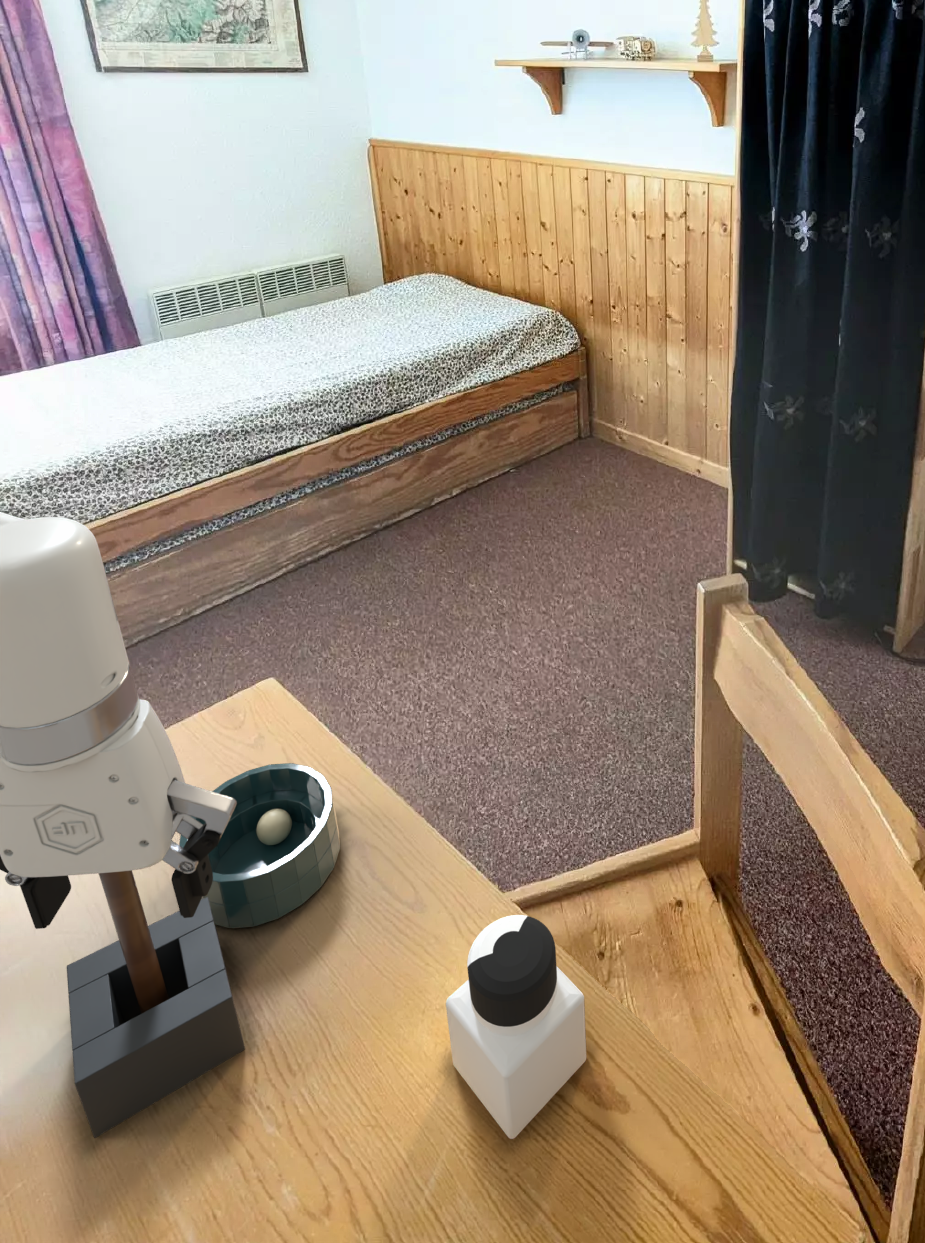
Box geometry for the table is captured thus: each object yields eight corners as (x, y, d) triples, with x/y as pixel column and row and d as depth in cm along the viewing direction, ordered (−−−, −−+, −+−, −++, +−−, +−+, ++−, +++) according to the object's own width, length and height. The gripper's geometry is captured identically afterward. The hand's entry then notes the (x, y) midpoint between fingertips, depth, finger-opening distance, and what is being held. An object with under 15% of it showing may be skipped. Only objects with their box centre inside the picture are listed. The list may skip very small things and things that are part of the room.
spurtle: (146, 1049, 64) (91, 873, 58) (157, 1023, 66) (105, 849, 60) (171, 1047, 64) (119, 871, 58) (181, 1021, 66) (132, 847, 60)
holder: (84, 1019, 66) (66, 965, 64) (220, 948, 71) (207, 896, 69) (95, 1141, 59) (74, 1084, 57) (245, 1051, 64) (232, 996, 62)
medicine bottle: (588, 1060, 63) (584, 946, 59) (511, 1144, 59) (501, 1027, 54) (527, 992, 68) (519, 881, 64) (451, 1065, 63) (437, 950, 59)
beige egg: (254, 854, 79) (249, 829, 78) (265, 826, 82) (260, 802, 81) (288, 851, 79) (283, 827, 78) (298, 824, 82) (293, 800, 81)
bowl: (166, 938, 72) (152, 886, 70) (224, 814, 84) (213, 767, 82) (318, 927, 73) (308, 876, 71) (355, 806, 85) (347, 759, 82)
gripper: (-125, 763, 50) (-41, 967, 56) (183, 745, 51) (233, 946, 57) (-38, 675, 57) (28, 865, 63) (231, 661, 58) (271, 848, 64)
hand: (126, 903), depth 60 cm, fingers open, 9 cm apart
